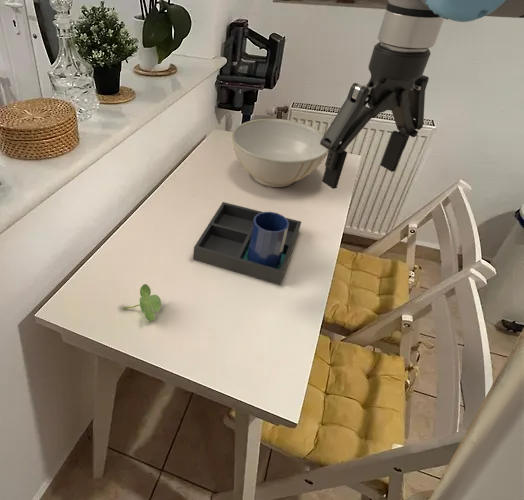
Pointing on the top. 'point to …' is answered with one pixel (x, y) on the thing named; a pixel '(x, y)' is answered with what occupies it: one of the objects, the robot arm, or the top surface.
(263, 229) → the cup
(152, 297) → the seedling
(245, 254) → the tray
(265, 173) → the decorative bowl
